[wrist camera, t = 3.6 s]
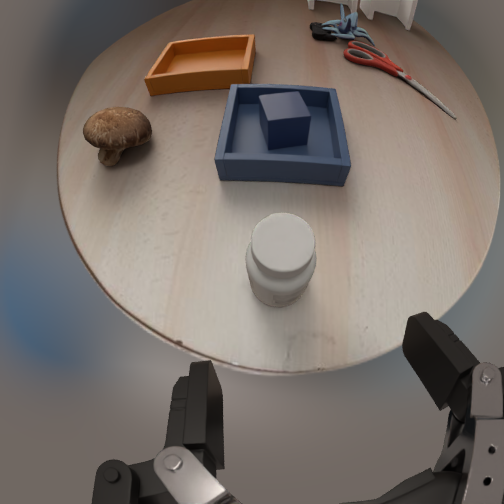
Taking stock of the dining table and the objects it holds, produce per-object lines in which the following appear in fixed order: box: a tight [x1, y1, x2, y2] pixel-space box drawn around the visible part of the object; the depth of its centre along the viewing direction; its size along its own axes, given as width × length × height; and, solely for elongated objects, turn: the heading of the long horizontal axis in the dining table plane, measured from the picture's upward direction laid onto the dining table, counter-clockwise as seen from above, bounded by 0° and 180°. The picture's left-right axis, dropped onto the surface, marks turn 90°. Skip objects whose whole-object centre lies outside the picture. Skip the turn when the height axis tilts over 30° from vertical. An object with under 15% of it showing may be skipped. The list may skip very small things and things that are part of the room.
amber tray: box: [144, 35, 256, 96], centre depth 32 cm, size 14×12×3 cm
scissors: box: [344, 41, 457, 119], centre depth 31 cm, size 8×21×2 cm, turn 53°
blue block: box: [259, 92, 311, 150], centre depth 25 cm, size 4×4×4 cm
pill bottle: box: [246, 213, 316, 307], centre depth 18 cm, size 4×4×8 cm
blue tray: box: [214, 84, 351, 186], centre depth 26 cm, size 12×12×3 cm
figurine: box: [310, 3, 375, 46], centre depth 34 cm, size 10×12×8 cm
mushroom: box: [83, 107, 152, 166], centre depth 26 cm, size 8×8×6 cm
